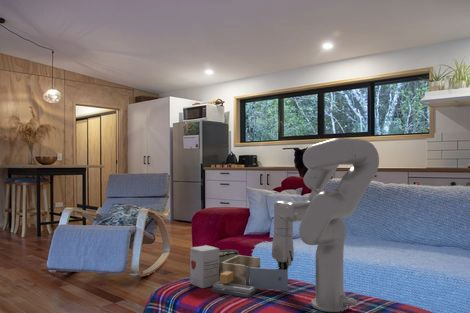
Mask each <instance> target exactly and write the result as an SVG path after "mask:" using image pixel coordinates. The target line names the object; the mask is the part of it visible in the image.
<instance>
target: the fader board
mask: <svg viewBox="0 0 470 313" xmlns="http://www.w3.org/2000/svg"><path fill="white" fill-rule="evenodd" d="M210 292H212V293H216V294H224V295H230V296H236V297H241V298H247V299H248V298H250V297H251V296H253V295H254V294H256V293H258V289H256V288H255V287H253V286H250V285H249V286H247V285H240V284H233V283H229V285H225V283H221V282H220V280H219V281H218V282H216V283H214V284H213V286H212V287H211V288H210Z"/></svg>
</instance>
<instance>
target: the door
mask: <svg viewBox="0 0 470 313" xmlns="http://www.w3.org/2000/svg"><path fill="white" fill-rule="evenodd" d="M288 270H289V269H288ZM288 270H286V269H279V268H270V267H269V268H265V267H260V268H254V267H250V285H249V267H248V266H246V285H247V286H253V287H255V288H256V289H257V290H258V289H259V290H269V291H270V290H271V291H286V292H288V290H289V286H288V285H289V278H288V277H289V271H288Z"/></svg>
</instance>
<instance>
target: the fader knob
mask: <svg viewBox="0 0 470 313" xmlns="http://www.w3.org/2000/svg"><path fill="white" fill-rule="evenodd" d="M219 281H220V282H221V283H225V285H229V282H231V281H233V272H230V271H225V272H223V273H221V274H220V276H219Z"/></svg>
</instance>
